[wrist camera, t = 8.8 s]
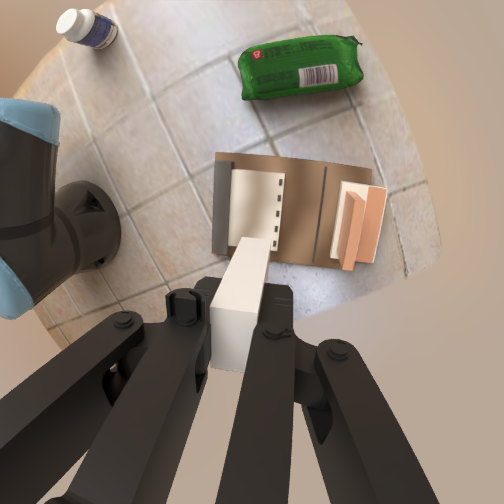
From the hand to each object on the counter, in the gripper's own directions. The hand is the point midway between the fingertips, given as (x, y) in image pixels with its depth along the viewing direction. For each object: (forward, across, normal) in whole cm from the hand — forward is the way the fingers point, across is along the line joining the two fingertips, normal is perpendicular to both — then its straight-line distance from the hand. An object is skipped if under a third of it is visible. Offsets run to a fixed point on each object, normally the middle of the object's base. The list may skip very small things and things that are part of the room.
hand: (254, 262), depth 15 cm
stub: (+23, +11, -3) cm, 25 cm away
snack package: (+25, +2, +16) cm, 29 cm away
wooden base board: (+24, +2, -3) cm, 24 cm away
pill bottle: (+25, -28, +24) cm, 44 cm away
